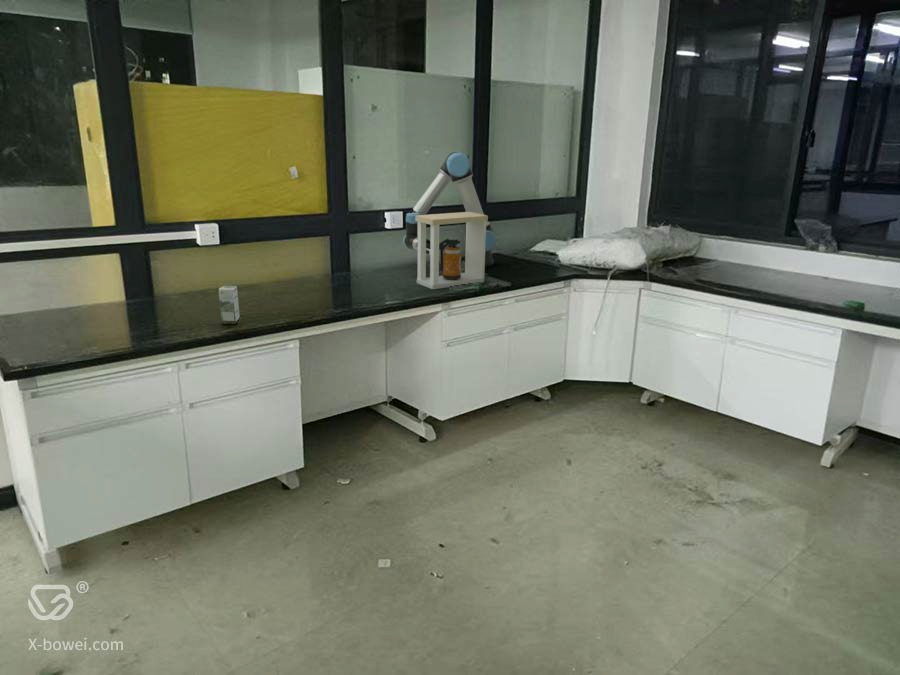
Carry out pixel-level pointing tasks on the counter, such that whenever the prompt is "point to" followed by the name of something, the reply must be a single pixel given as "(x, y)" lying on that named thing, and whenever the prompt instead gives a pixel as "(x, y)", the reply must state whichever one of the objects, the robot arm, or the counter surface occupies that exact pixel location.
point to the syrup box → (229, 303)
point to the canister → (450, 259)
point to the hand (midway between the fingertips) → (444, 252)
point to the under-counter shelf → (472, 255)
